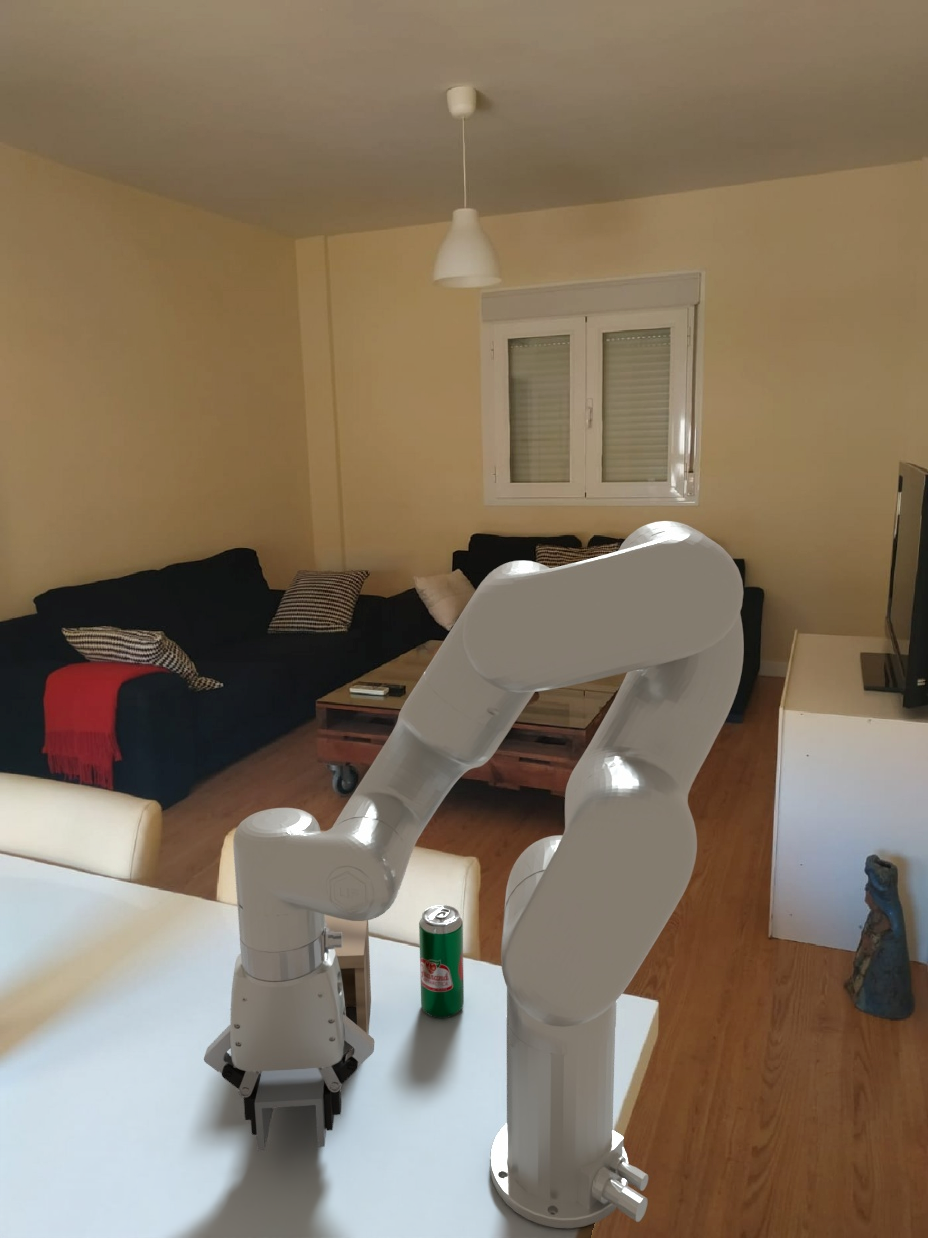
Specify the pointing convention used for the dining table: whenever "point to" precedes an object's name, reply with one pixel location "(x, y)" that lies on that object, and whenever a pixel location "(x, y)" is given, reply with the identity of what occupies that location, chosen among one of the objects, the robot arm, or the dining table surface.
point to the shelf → (354, 966)
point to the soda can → (441, 961)
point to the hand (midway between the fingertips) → (294, 1120)
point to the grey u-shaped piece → (289, 1098)
